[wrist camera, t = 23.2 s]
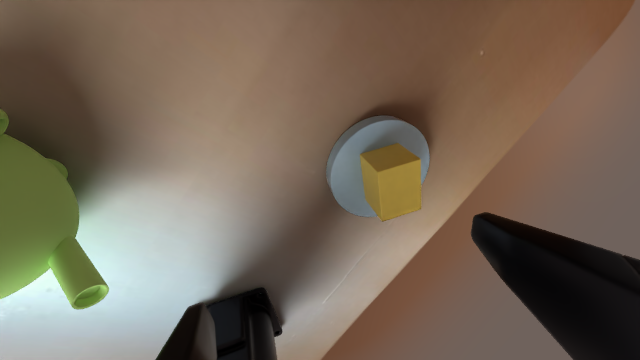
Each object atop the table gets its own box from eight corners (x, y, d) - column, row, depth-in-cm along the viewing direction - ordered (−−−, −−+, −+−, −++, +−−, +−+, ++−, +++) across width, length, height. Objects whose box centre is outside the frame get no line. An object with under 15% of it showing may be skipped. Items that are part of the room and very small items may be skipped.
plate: (421, 192, 26) (429, 200, 25) (334, 221, 25) (339, 229, 24) (420, 103, 22) (430, 106, 21) (316, 131, 21) (321, 137, 20)
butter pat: (400, 188, 23) (421, 209, 21) (365, 199, 23) (382, 222, 20) (398, 142, 21) (421, 158, 19) (359, 153, 21) (377, 172, 18)
